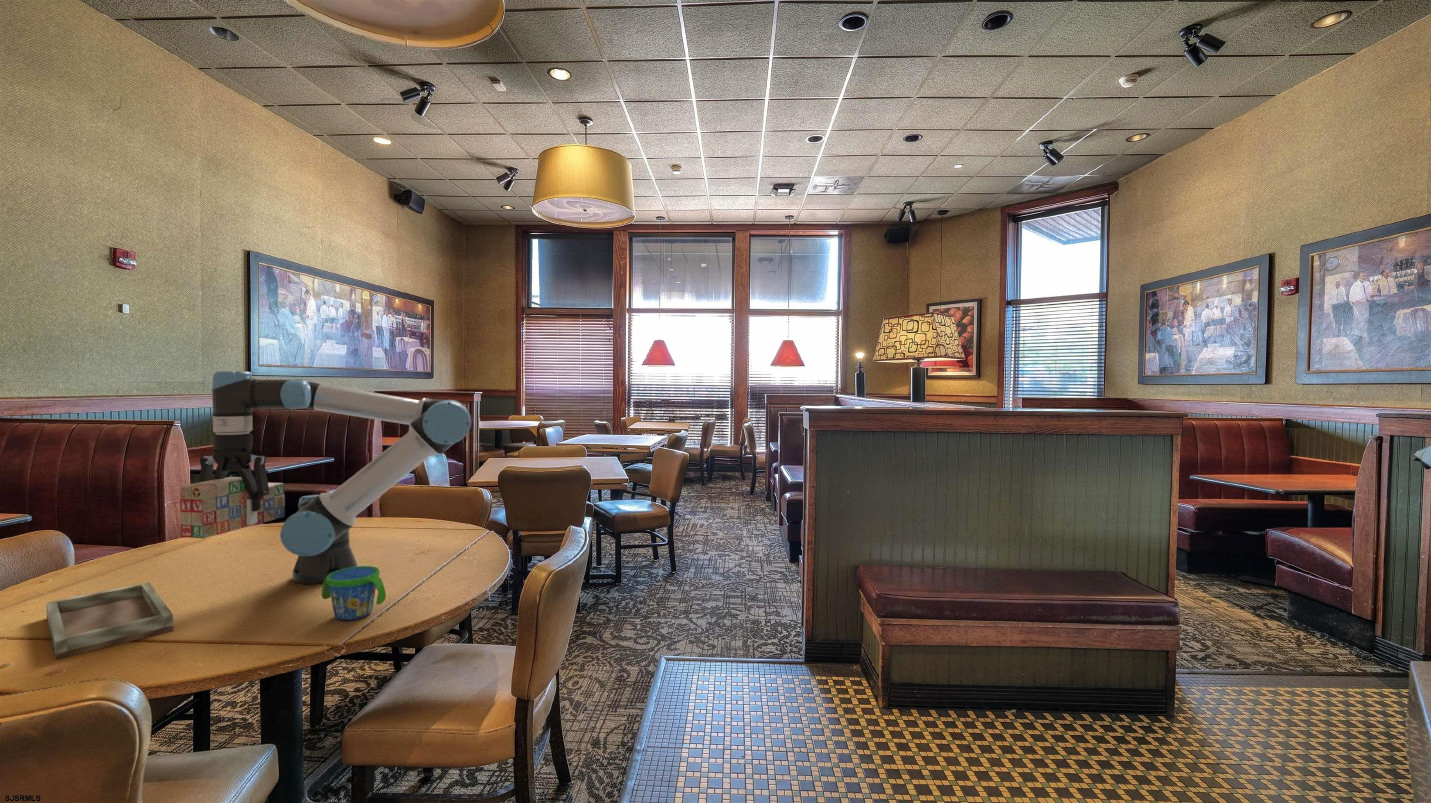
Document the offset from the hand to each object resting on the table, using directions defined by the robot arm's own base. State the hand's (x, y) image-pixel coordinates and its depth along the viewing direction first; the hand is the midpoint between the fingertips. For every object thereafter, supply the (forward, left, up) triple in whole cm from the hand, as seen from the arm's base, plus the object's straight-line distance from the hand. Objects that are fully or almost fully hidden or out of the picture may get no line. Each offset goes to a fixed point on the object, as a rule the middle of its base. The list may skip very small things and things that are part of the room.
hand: (234, 524), depth 143 cm
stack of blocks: (0, -1, -1) cm, 1 cm away
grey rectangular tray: (+18, +12, -19) cm, 29 cm away
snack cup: (-34, +12, -19) cm, 41 cm away
